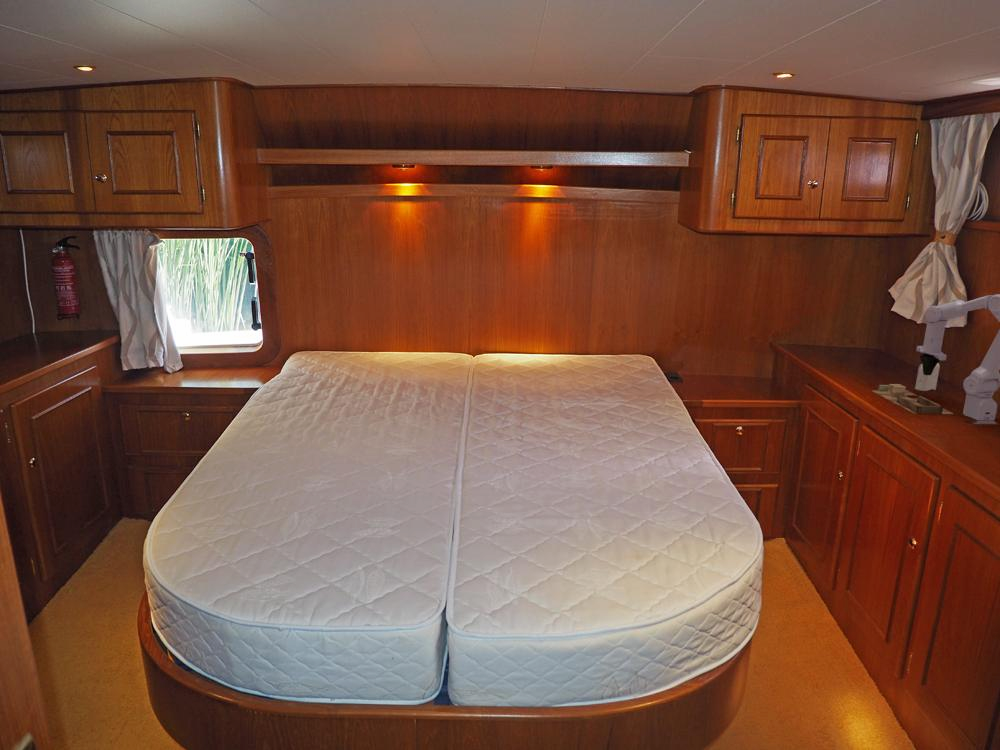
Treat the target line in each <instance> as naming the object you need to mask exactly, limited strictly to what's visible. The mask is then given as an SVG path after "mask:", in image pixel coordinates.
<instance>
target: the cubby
mask: <svg viewBox="0 0 1000 750" xmlns="http://www.w3.org/2000/svg"><path fill="white" fill-rule="evenodd" d="M917 396H918V397H916V398H917V403H919V404H921V405H923V406H920V405H918V404H916V403H914V402H912V401H910V400H908V399H906V398H904V397H902V396H897V403H899V404H901V405H903V406H905V407H906V408H908V409H910V410H912V411H914V412H916V413H918V415H920V414H921V415H930V414H931V415H933V414H934V415H936V414H937V415H943V414H942V411H943V409H944V406H942V405H940V404H938V403H936V402H934V401H933V400H930V399H928V398H926V397H924V396H922V395H917Z"/></svg>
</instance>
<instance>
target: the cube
mask: <svg viewBox="0 0 1000 750" xmlns="http://www.w3.org/2000/svg"><path fill="white" fill-rule="evenodd" d="M888 385H889V389H888V395H890V396H892V397H897V396H902V397H904V395H905V391H906V389H907V387H906V386H905V385H902V384H900V383H899V384H898V383H894V384H893V383H889V384H888ZM905 396H906V395H905Z"/></svg>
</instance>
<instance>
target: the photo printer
mask: <svg viewBox="0 0 1000 750" xmlns="http://www.w3.org/2000/svg"><path fill="white" fill-rule="evenodd" d="M939 372H940V362H938V364H937V365H936V366H935V368H934V370H933V372H932V374H931V375H924V374H923V366H922V363H921V364H920V365H919V366H918V369H917V375H916V381H915V386H914V389H915V390H917V391H923V392H927V391H931V390H934V391H936V389H937V385H938V384H937V383H938V378H939Z"/></svg>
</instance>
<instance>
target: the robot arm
mask: <svg viewBox="0 0 1000 750" xmlns="http://www.w3.org/2000/svg"><path fill="white" fill-rule="evenodd" d="M981 309H986V310H989V311H990V313H991V314H992V315H993V316H994V317H995V318H996V320H997V321H998V322H999V323H1000V294H998V293H996V294H994V295H993V294H992V295H988V294H987V295H985V296H981V297H978V298H975V299H972V300H971V299H970V300H968V301H964V300H962V299H958V298H956V299H952V301H951V302H947V303H945V302H942V303H940V305H931V306H929V307H928V308H926V310H925V311H924V317H925V319H926V322H927V323H926V328H925V332H924V333H925V334H924V340H923V344H922V345H917V346H916V350H915V351H916V352H919V353H923V354H920V355H919V359H920V360H921V364H922V366H923V374H924V375H931V374H932V372H933V370H934V368H935V366H936V365H937V364H938V363H940V362H941V361H947V354H945V353H944V352H943V351H942V348H943V347H942V346H943V345H942V344H943V342H944V341H943V339H944V335H945V329H946V327H947V324H948V322H949V321H950V320H953V319H957V318H961V317H965V316H966V315H967V314H968V312H969V311H975V310H981ZM985 354H986V355H984V358H983V360H982V362H981V364H980V365H979V367H977V368H975V369H973V370H972V371H971V373H970V375H969V376H967V377H966V378H964V380H963V384H962V385H963V386H962V387H963V389H964V391H965V394H966V395H965V400H964V401H965V402H964V405H963V411H962V414H963V415H964V416H966V417H969V418H971V419H974V420H968V422H969V423H972V424H973V425H997V422H996V420H995V419H996V417H997V416H996V415H997V410H998V403H997V402H996V401H995V400H994V399H993V396H994V393H995V392H997V391H998V390H999V388H1000V372H999V371H1000V329H999V330H998V332H997V334H996V336H995V338H993V341H992V343H991V345H990V347H989V349H988V350H987V352H986V353H985Z"/></svg>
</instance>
